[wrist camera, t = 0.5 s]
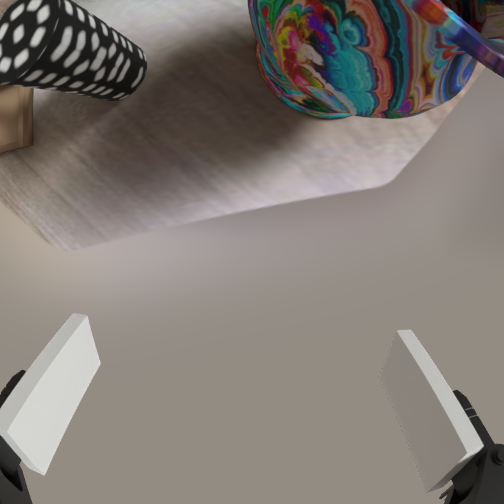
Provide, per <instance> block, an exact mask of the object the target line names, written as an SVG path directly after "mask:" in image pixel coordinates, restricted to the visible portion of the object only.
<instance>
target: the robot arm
mask: <svg viewBox="0 0 504 504" xmlns="http://www.w3.org/2000/svg"><path fill="white" fill-rule="evenodd" d="M100 364H101V363H100V360H99V357H98V353H97V350H96V346H95V343H94V339H93V336H92V332H91V328H90V325H89V321H88V317H87V315H82V314H76V313H73V314H72V315H71V316H70V317H69V318H68V320H67V321H66V322H65V323H64V324H63V326H62V327H61V328H60V329H59V331H58V332H57V333H56V334H55V336H54V337H53V338H52V339H51V340H50V342H49V343H48V344H47V345H46V347H45V348H44V349H43V351H42V352H41V353H40V354H39V356H38V357H37V358H36V360H35V361H34V362H33V363H32V365H31V366H30V367H29V369H28V370H27V371H24V370H21V371H20V372H18V373H17V374H16V375H14V376H13V377H12V378H11V380H10V381H9V382H8V384H7V385H6V387H5V388H4V389H3V390H2V392H1V395H0V504H32V501H31V498H30V495H29V492H28V489H27V485H26V482H25V478H24V475H23V471H22V469H21V467H20V465H19V464H20V462H21V460H22V461H23V462H24V463H25V465H27V467H28V468H30V469H32V470H34V471H36V472H38V473H40V474H42V475H45V474H46V471H47V469H48V467H49V464H50V462H51V460H52V458H53V456H54V453H55V451H56V449H57V447H58V445H59V443H60V440H61V439H62V436H63V434H64V432H65V430H66V428H67V426H68V424H69V422H70V420H71V418H72V416H73V414H74V412H75V410H76V408H77V406H78V404H79V403H80V401H81V399H82V396H83V395H84V393H85V391H86V389H87V387H88V385H89V384H90V382H91V380H92V378H93V376H94V374H95V373H96V371H97V369H98V367H99V366H100ZM379 378H380V381H381V383H382V385H383V387H384V389H385V392H386V394H387V396H388V399H389V401H390V403H391V405H392V408H393V410H394V412H395V414H396V417H397V419H398V422H399V424H400V427H401V429H402V431H403V433H404V436H405V439H406V441H407V444H408V446H409V449H410V451H411V454H412V456H413V459H414V461H415V464H416V467H417V469H418V472H419V474H420V477H421V480H422V482H423V485H424V488H425V491H426V493H427V492H430V491H433V490H436V489H439V488H441V487H443V486H444V485H445V484H447V482H449V481H450V480H452V482H453V485H452V486H451V487H450V488H449V489H447V490H446V491H445V492H444V493H443V494H441V496H440V498H439V499H442V498H443V497H444V496H446V495H447V494H448V495H447V497H446V499H445V503H444V504H504V445H503V444H495V443H494V442H493V441H492V439H491V437H490V435H489V434H488V432H487V430H486V428H485V427H484V425H483V424H482V422H481V420H480V419H479V417H478V416H477V414H476V412H475V410H474V409H472V406H471V404H470V402H469V401H468V399H467V398H466V397H465V396H464V395H463V394H462V393H461V392H459V391H458V390H455V391H452V390H451V389H450V387H449V385H448V384H447V382H446V381H445V379H444V378H443V376H442V375H441V373H440V372H439V370H438V369H437V367H436V366H435V364H434V362H433V361H432V359H431V358H430V357H429V355H428V354H427V352H426V351H425V349H424V348H423V346H422V345H421V343H420V342H419V341H418V339H417V338H416V336H415V335H414V333H413V332H412V330H398V331H396V333H395V336H394V339H393V342H392V345H391V347H390V350H389V353H388V356H387V358H386V361H385V363H384V365H383V368H382V371H381V373H380V375H379Z"/></svg>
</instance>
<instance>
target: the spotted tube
mask: <svg viewBox="0 0 504 504" xmlns="http://www.w3.org/2000/svg"><path fill="white" fill-rule="evenodd" d="M146 70H147V60H146V56H145V54H144V52H143V51H142V50H141V48H139V47H138V46H137V45H135V44H134V43H133V42H131V41H130V40H128V39H127V38H126V37H124V36H123V35H122V34H120V33H119V32H117V31H116V30H115V29H113V28H112V27H110V26H109V25H107V24H106V23H105V22H103V21H102V20H100V19H99V18H97V17H96V16H94V15H93V14H91V13H90V12H88V11H87V10H85V9H84V8H82V7H81V6H79V5H77V4H76V3H74V2H73V1H71V0H16V1H15V2H14V3H13V4H12V5H11V6H10V7H9V8H8V9H7V11H6V12H5V13H4V14H3V16H2V17H1V19H0V84H2V85H12V86H22V87H31V88H39V89H46V90H53V91H59V92H65V93H71V94H77V95H82V96H88V97H93V98H98V99H103V100H108V101H116V100H121V99H123V98H126V97H127V96H129V95H131V94H132V93H133V92H134V91H135V90H136V89H137V88H138V87H139V86H140V84H141V83H142V81H143V79H144V77H145V74H146Z"/></svg>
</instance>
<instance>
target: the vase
mask: <svg viewBox="0 0 504 504" xmlns="http://www.w3.org/2000/svg"><path fill="white" fill-rule="evenodd" d="M248 9H249V14H250V18H251V23H252V27H253V31H254V34H255V37H256V39H257V46H256V56H257V63H258V67H259V70H260V72H261V75H262V77H263V79H264V80H265V82H266V84H267V85H268V86H269V88H270V89H271V90H272V91H273V93H274V94H275V95H276V96H277V97H278V98H280V99H281V100H282V101H283V102H284V103H286V104H287V105H289V106H290V107H292V108H294V109H296V110H298V111H300V112H302V113H305V114H307V115H311V116H314V117H320V118H343V117H348V116H351V115H354V116H361V117H370V118H386V119H394V118H405V117H411V116H414V115H418V114H421V113H423V112H426V111H428V110H430V109H432V108H434V107H436V106H439V105H441V104H443V103H445V102H447V101H448V100H450V99H452V98H453V97H454V96H456V95H457V94H458V93H459V92H460V91H461V90H462V89H463V88H464V86H465V85H466V84H467V82H468V80H469V78H470V77H471V75H472V73H473V71H474V69H475V67H476V65H477V62H478V61H479V62H480V63H482V64H483V65H484V66H486V67H487V68H489V69H490V70H492V71H493V72H495V73H497V74H498V75H500V76H501V77H503V78H504V0H248Z"/></svg>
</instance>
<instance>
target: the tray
mask: <svg viewBox="0 0 504 504" xmlns="http://www.w3.org/2000/svg"><path fill="white" fill-rule="evenodd" d="M33 90H34V88H31V87H22V86H12V85H2V84H0V153H4V152H7V151H11V150H14V149H18V148H22V147H26V146H30V145H33V133H32V116H33Z"/></svg>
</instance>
